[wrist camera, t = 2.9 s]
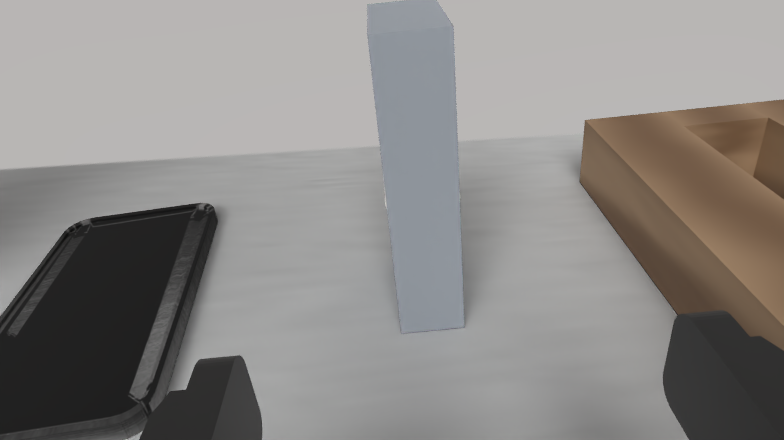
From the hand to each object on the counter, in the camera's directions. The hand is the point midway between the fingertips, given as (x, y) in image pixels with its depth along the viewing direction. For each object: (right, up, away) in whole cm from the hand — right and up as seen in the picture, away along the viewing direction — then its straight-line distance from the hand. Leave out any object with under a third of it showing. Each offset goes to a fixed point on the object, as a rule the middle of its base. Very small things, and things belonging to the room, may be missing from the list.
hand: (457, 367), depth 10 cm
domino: (0, 0, +13) cm, 13 cm away
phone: (-14, -2, +14) cm, 20 cm away
